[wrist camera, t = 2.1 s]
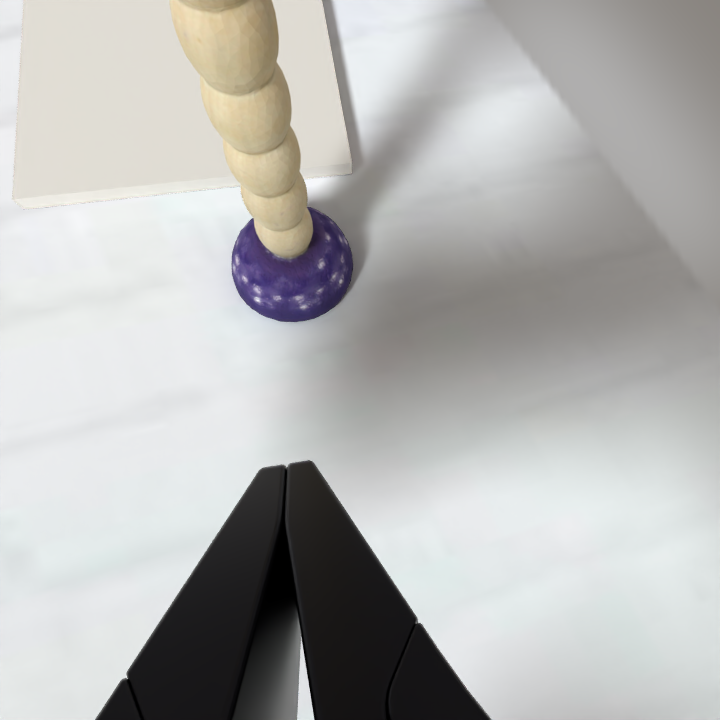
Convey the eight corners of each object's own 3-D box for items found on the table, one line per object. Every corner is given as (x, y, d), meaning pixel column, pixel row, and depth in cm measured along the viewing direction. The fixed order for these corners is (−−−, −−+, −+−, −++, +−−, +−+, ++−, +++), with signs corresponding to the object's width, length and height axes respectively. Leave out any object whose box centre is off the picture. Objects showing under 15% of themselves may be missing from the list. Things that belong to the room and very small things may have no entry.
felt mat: (351, 173, 18) (352, 163, 17) (23, 209, 17) (12, 199, 16) (300, -107, 22) (299, -123, 21) (38, -92, 21) (29, -108, 20)
